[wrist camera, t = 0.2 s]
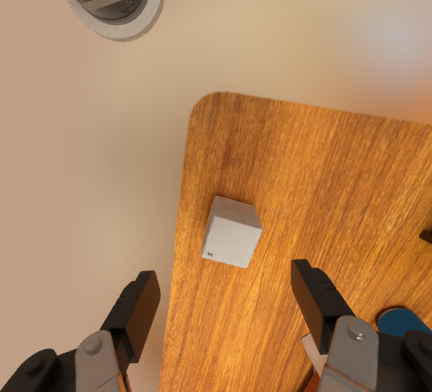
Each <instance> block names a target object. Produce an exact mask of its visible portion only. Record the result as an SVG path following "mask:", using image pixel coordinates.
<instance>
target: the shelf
mask: <svg viewBox="0 0 432 392" xmlns="http://www.w3.org/2000/svg"><path fill="white" fill-rule="evenodd" d="M420 238H422V239H423V240H425V241H427V242H428V243H430V244H432V232H428V231H423V232H422V234H421V235H420Z"/></svg>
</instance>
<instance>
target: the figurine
mask: <svg viewBox="0 0 432 392" xmlns="http://www.w3.org/2000/svg"><path fill="white" fill-rule="evenodd" d="M302 341H303V345H304V349H305V351H306V353H307V355H308V357H309V358H310V360H311V362H312V364H313V365H314V367H315V369H316V371H317V372H318V374H319V377H320V378H321V374H322V370H323V367H324V364H326V361H327V357H328V355H320V354H319V352H318V349H317V347H316V345H315V342H314V340H313V338H312V335H311V333H310V334H308V335H306V336H305V337H303V338H302Z"/></svg>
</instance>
